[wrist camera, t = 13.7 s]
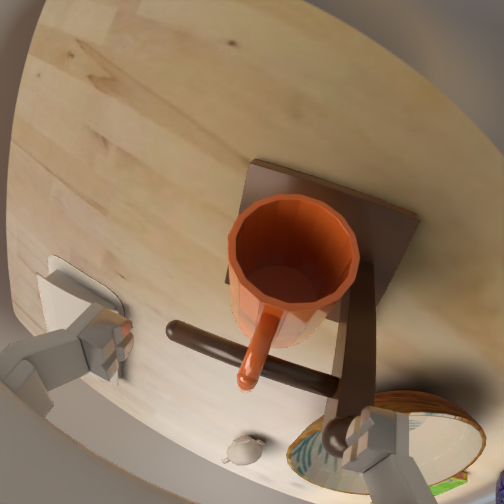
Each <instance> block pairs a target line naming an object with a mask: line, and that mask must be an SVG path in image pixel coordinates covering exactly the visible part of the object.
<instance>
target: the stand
mask: <svg viewBox="0 0 504 504" xmlns="http://www.w3.org/2000/svg"><path fill="white" fill-rule="evenodd" d="M276 194H301V195H305V196H308V197H311V198H314V199H317V200H320V201H323V202H324V203H326V204H327V205H329V206H330V207H331V208H333V209H334V210H335V211H337V212H338V213H339V214H341V215H342V216H343V217H344V219H345V220H346V222H347V223H348V225H349V226H350V228H351V229H352V231H353V232H354V234H355V236H356V240H357V244H358V249H359V254H360V261H359V266H358V270H357V275H356V279H355V281H354V282H353V284H352V285H351V286H350V287H349V289H348V290H347V291H346V293H345V294H344V295H343V296H342V298H341V299H340V300H339V301H338V303H337V304H336V305H335V306H334V308H333V309H332V310H331V311H330V313H329V314H328V315H327V316H326V317H325V318H326V319H329V320H332V321H335V322H338V323H339V326H338V334H337V341H336V348H335V355H334V362H333V369H332V375H329V374H326V373H323V372H319V371H316V370H313V369H310V368H307V367H304V366H300V365H297V364H294V363H291V362H288V361H285V360H282V359H280V358H277V357H274V356H271V355H268V356H267V358H266V361H265V364H264V366H263V369H262V371H261V374H260V376H263V377H266V378H269V379H272V380H274V381H277V382H280V383H283V384H286V385H290V386H293V387H296V388H299V389H302V390H305V391H308V392H312V393H315V394H318V395H322V396H325V397H328V399H327V404H326V410H325V415H324V420H323V425H322V430H321V443H322V446H323V448H324V450H325V451H326V452H327V453H328V454H329V455H331V456H333V457H335V458H340V459H343V453H344V451H345V450H346V449H347V448H348V445H347V443H346V441H345V440H346V434H347V431H348V428H349V426H350V424H351V422H352V421H353V419H354V418H355V417H357V416H360V415H361V413H362V410H363V409H364V408H365V407H366V406H373V407H374V403H375V382H376V306H377V305H378V303H379V301H380V299H381V297H382V296H383V294H384V292H385V290H386V288H387V286H388V285H389V283H390V281H391V279H392V277H393V275H394V273H395V271H396V269H397V267H398V265H399V263H400V261H401V259H402V257H403V255H404V253H405V251H406V249H407V247H408V245H409V243H410V241H411V239H412V236H413V234H414V232H415V230H416V228H417V226H418V223H419V219H418V217H417V214H415V213H413V212H410V211H408V210H405V209H403V208H400V207H398V206H395V205H392V204H390V203H387V202H385V201H382V200H379V199H377V198H374V197H371V196H368V195H366V194H363V193H360V192H357V191H355V190H352V189H349V188H346V187H343V186H340V185H337V184H334V183H332V182H329V181H326V180H323V179H319V178H316V177H313V176H310V175H307V174H304V173H301V172H298V171H294V170H291V169H288V168H285V167H281V166H278V165H275V164H271V163H268V162H264V161H261V160H257V159H254V160H253V161H251V162H250V163H249V167H248V172H247V176H246V181H245V186H244V191H243V195H242V200H241V205H240V210H239V215H240V214H241V213H242V212H243V211H244V210H246V209H247V208H248V207H249V206H250V205H252V204H253V203H254V202H256V201H258V200H261V199H264V198H267V197H270V196H273V195H276ZM239 215H238V216H239ZM225 283H226V284H229V285H230V280H229V266H228V269H227V274H226V279H225ZM166 335H167V336H168V338H169V339H170V340H172V341H174V342H176V343H179V344H181V345H183V346H186V347H188V348H190V349H193V350H195V351H198V352H200V353H202V354H205V355H207V356H210V357H212V358H215V359H217V360H220V361H222V362H225V363H228V364H230V365H233V366H235V367H238V368H240V367H241V364H242V362H243V359H244V357H245V354H246V352H247V349H248V347H246V346H243V345H240V344H238V343H235V342H232V341H230V340H227V339H225V338H222V337H219V336H217V335H214V334H212V333H209V332H207V331H204V330H202V329H199V328H197V327H194V326H192V325H190V324H187V323H185V322H182V321H180V320H173V321H171V322H169V323H168V324H167V326H166Z"/></svg>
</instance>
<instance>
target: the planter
mask: <svg viewBox="0 0 504 504" xmlns="http://www.w3.org/2000/svg"><path fill="white" fill-rule="evenodd" d="M496 504H504V471H503V472H502V473H501V475H500V476H499V478H498V480H497V483H496Z"/></svg>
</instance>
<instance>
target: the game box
mask: <svg viewBox="0 0 504 504" xmlns="http://www.w3.org/2000/svg"><path fill="white" fill-rule="evenodd" d="M466 482H467V473H464V472H461V473H459V474H457V475H456V476H454V477H452V478H450V479H448V480H445V481H443V482H441V483H438V484H436V485H433V486H430V487H429V488H430V490H431V492H432V494H433V496H436V495H438V494H441V493H443V492H446V491H448V490H450V489H453V488H455V487H457V486H459V485H462V484H464V483H466ZM370 503H371V504H373V502H370Z"/></svg>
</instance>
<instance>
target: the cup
mask: <svg viewBox="0 0 504 504" xmlns="http://www.w3.org/2000/svg"><path fill="white" fill-rule="evenodd" d="M359 261H360V254H359V249H358V244H357V240H356V236H355V234H354V232H353V231H352V229H351V228H350V226H349V225H348V223H347V222H346V220H345V219H344V217H343V216H342V215H341V214H339V213H338V212H337V211H335V210H334V209H333V208H331V207H330V206H329V205H327V204H326V203H324V202H323V201H320V200H317V199H314V198H311V197H308V196H305V195H301V194H276V195H273V196H270V197H267V198H264V199H261V200H258V201H256V202H254V203H253V204H252V205H250V206H249V207H248V208H247V209H246V210H244V211H243V212H242V213H241V214H240V215H239V216H238V217H237V219H236V221H235V223H234V225H233V227H232V229H231V231H230V233H229V235H228V266H229V280H230V294H231V307H232V313H233V316H234V319H235V321H236V323H237V325H238V327H239V328H240V330H241V331H242V332H243V333H244V334H245V335H246V336H247V337H248V338H249V339H250V340H251V342H250V344H249V347H248V349H247V352H246V354H245V357H244V359H243V362H242V364H241V367H240V369H239V372H238V374H237V382H238V388H239V390H240V391H241V392H243V393H250V392H251V391H252V390H253V389H254V387H255V385H256V384H257V382H258V379H259V377H260V374H261V371H262V369H263V366H264V364H265V361H266V358H267V356H268V353H269V350H270V348H287V347H291V346H294V345H297V344H299V343H301V342H302V341H304V340H305V339H307V338H308V337H309V336H310V335H311V334H312V333H313V332H314V331H315V329H316V328H317V327H318V326H319V325H320V323H321V322H322V321H323V320H324V319H325V317H326V316H327V315H328V314H329V313H330V311H331V310H332V309H333V308H334V306H335V305H336V304H337V303H338V301H339V300H340V299H341V298H342V296H343V295H344V294H345V293H346V291H347V290H348V289H349V287H350V286H351V285H352V284H353V282H354V281H355V279H356V275H357V270H358V266H359Z"/></svg>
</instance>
